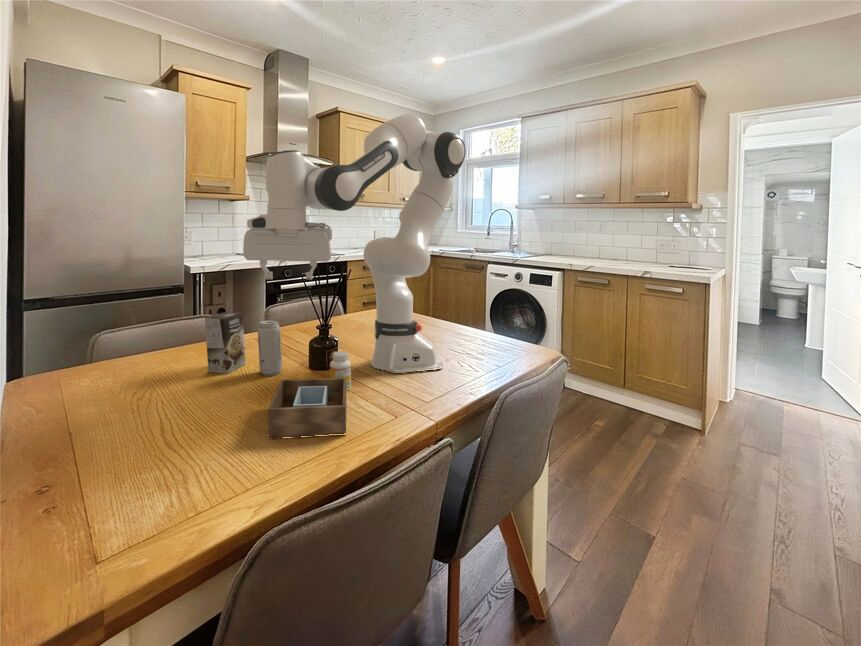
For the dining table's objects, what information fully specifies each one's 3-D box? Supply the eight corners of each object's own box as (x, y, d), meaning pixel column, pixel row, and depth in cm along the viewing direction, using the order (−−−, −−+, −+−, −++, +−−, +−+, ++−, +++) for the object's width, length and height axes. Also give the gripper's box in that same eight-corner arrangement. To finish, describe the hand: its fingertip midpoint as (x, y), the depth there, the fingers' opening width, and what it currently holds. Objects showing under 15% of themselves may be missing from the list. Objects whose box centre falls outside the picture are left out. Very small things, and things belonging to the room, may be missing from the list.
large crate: (346, 403, 110) (346, 378, 109) (345, 435, 94) (345, 406, 92) (281, 405, 108) (280, 379, 106) (269, 439, 91) (267, 409, 90)
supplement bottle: (331, 384, 122) (331, 350, 120) (351, 384, 123) (351, 350, 121) (329, 391, 117) (328, 356, 115) (349, 391, 117) (349, 356, 115)
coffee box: (227, 374, 127) (223, 318, 124) (207, 372, 129) (203, 317, 125) (246, 364, 136) (243, 312, 133) (227, 362, 137) (224, 311, 134)
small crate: (327, 405, 106) (327, 385, 105) (325, 426, 96) (324, 404, 95) (299, 406, 105) (298, 386, 104) (293, 427, 95) (293, 405, 94)
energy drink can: (259, 370, 131) (257, 320, 128) (281, 368, 134) (279, 319, 130) (260, 377, 126) (257, 325, 123) (282, 375, 128) (280, 324, 125)
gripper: (332, 223, 112) (333, 278, 115) (245, 220, 109) (249, 277, 112) (331, 223, 106) (332, 281, 109) (239, 220, 103) (243, 280, 106)
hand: (289, 279), depth 110 cm, fingers open, 8 cm apart
